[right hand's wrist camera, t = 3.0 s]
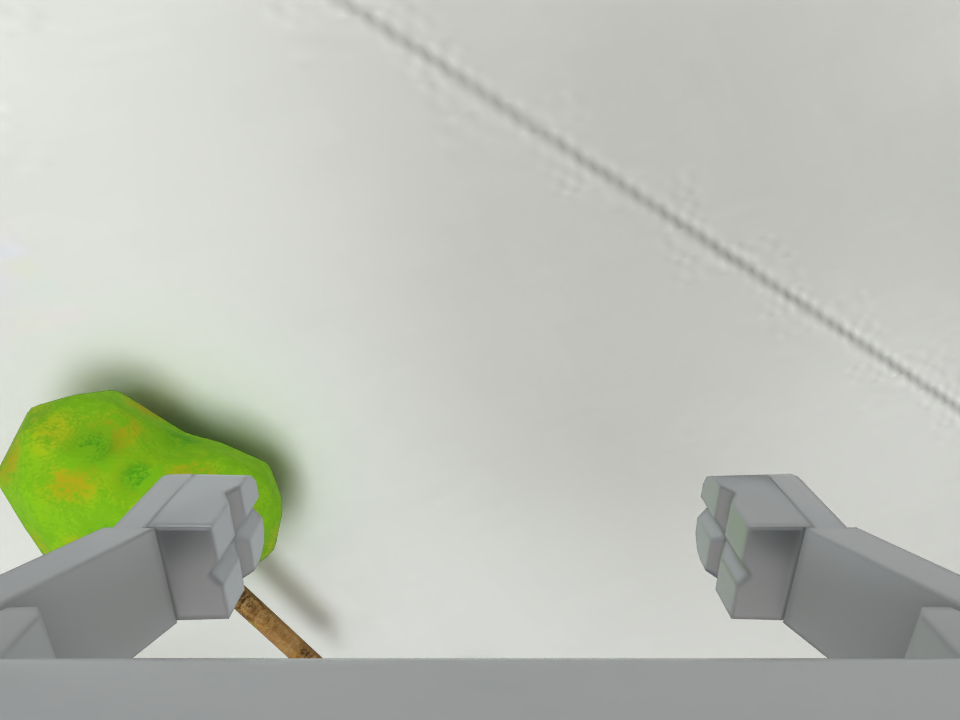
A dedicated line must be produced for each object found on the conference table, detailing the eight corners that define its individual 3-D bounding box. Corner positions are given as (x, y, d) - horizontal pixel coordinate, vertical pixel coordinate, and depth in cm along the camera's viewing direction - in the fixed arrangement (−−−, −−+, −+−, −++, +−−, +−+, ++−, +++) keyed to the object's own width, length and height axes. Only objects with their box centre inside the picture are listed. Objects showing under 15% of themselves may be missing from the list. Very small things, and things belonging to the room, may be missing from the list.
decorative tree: (218, 774, 45) (-121, 515, 36) (263, 659, 55) (6, 432, 45) (398, 684, 42) (74, 368, 32) (413, 578, 51) (167, 311, 42)
